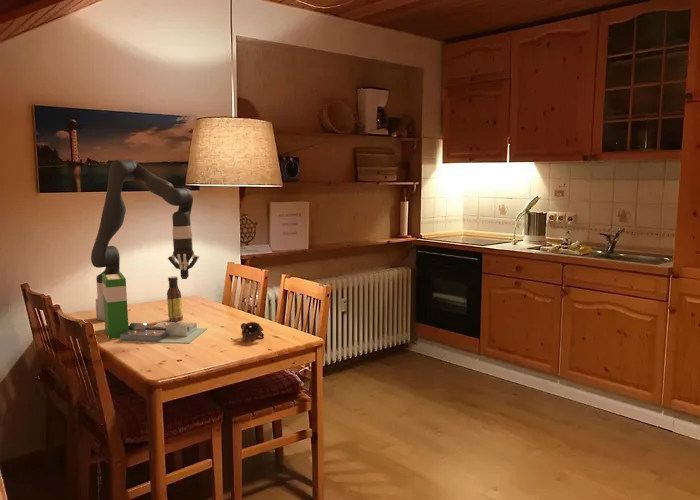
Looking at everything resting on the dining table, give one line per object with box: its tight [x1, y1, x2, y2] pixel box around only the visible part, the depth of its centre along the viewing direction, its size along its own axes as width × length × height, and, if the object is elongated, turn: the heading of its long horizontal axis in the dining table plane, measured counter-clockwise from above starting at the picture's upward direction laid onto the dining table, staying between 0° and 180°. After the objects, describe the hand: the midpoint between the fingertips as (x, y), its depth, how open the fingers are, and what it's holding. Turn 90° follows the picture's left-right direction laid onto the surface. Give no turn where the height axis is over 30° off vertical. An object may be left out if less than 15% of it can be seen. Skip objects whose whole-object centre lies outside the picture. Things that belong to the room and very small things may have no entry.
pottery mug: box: [240, 321, 265, 343], centre depth 237 cm, size 12×10×8 cm
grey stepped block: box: [119, 322, 167, 342], centre depth 240 cm, size 18×12×5 cm
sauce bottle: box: [166, 275, 184, 322], centre depth 267 cm, size 7×6×20 cm
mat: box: [119, 327, 208, 344], centre depth 244 cm, size 28×22×1 cm
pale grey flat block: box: [152, 321, 198, 336], centre depth 247 cm, size 16×12×4 cm
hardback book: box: [101, 271, 129, 340], centre depth 245 cm, size 18×7×24 cm, turn 27°
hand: (184, 278), depth 245 cm, fingers closed
